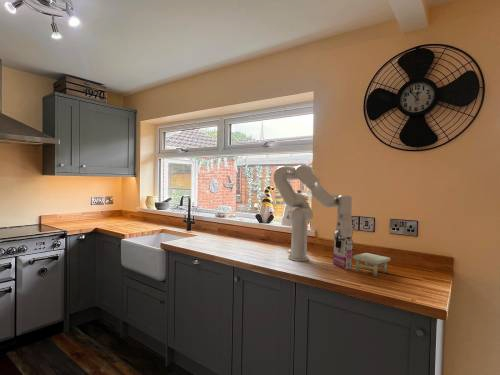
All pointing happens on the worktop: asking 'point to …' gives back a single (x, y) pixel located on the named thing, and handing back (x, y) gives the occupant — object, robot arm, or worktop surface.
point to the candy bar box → (343, 254)
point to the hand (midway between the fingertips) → (343, 246)
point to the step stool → (371, 262)
